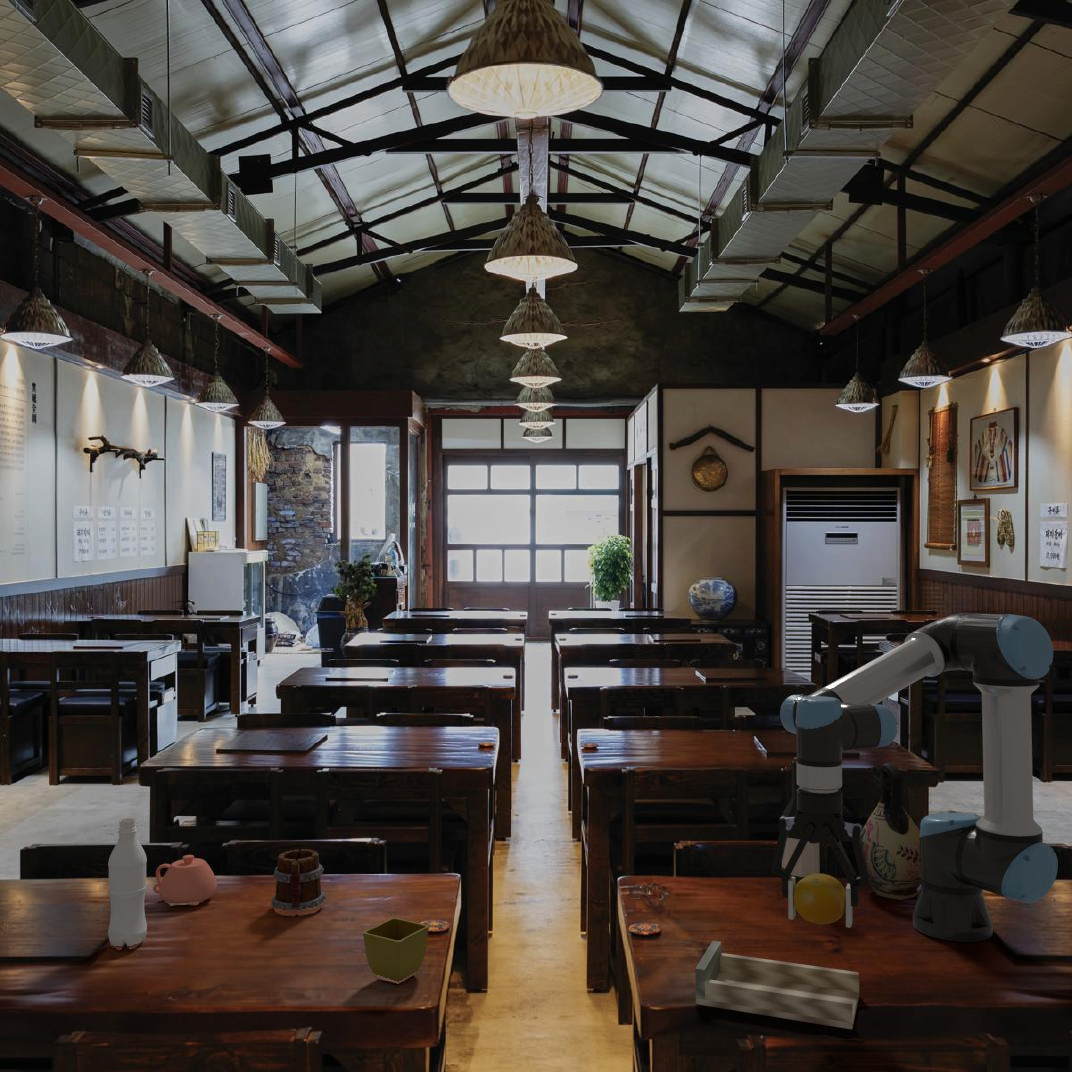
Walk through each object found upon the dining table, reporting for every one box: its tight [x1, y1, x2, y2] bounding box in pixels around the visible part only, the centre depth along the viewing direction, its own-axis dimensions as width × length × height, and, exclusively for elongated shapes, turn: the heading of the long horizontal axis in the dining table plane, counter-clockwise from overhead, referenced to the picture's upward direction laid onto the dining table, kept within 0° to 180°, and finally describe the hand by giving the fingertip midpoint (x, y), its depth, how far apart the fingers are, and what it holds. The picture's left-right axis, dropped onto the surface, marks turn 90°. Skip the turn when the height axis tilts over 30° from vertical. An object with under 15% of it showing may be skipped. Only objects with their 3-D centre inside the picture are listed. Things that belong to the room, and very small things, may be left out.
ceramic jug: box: [861, 762, 921, 901], centre depth 226 cm, size 17×15×30 cm
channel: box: [694, 940, 860, 1030], centre depth 173 cm, size 26×13×6 cm, turn 68°
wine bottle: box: [780, 756, 821, 886], centre depth 230 cm, size 8×8×30 cm
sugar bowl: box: [152, 854, 218, 903], centre depth 226 cm, size 12×14×10 cm
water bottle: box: [107, 817, 148, 947], centre depth 200 cm, size 7×7×25 cm
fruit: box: [793, 873, 846, 925], centre depth 172 cm, size 9×8×8 cm
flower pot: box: [362, 917, 429, 982], centre depth 183 cm, size 9×9×9 cm
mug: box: [270, 848, 327, 910], centre depth 219 cm, size 12×14×15 cm
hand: (820, 920), depth 171 cm, fingers closed on fruit, 9 cm apart
